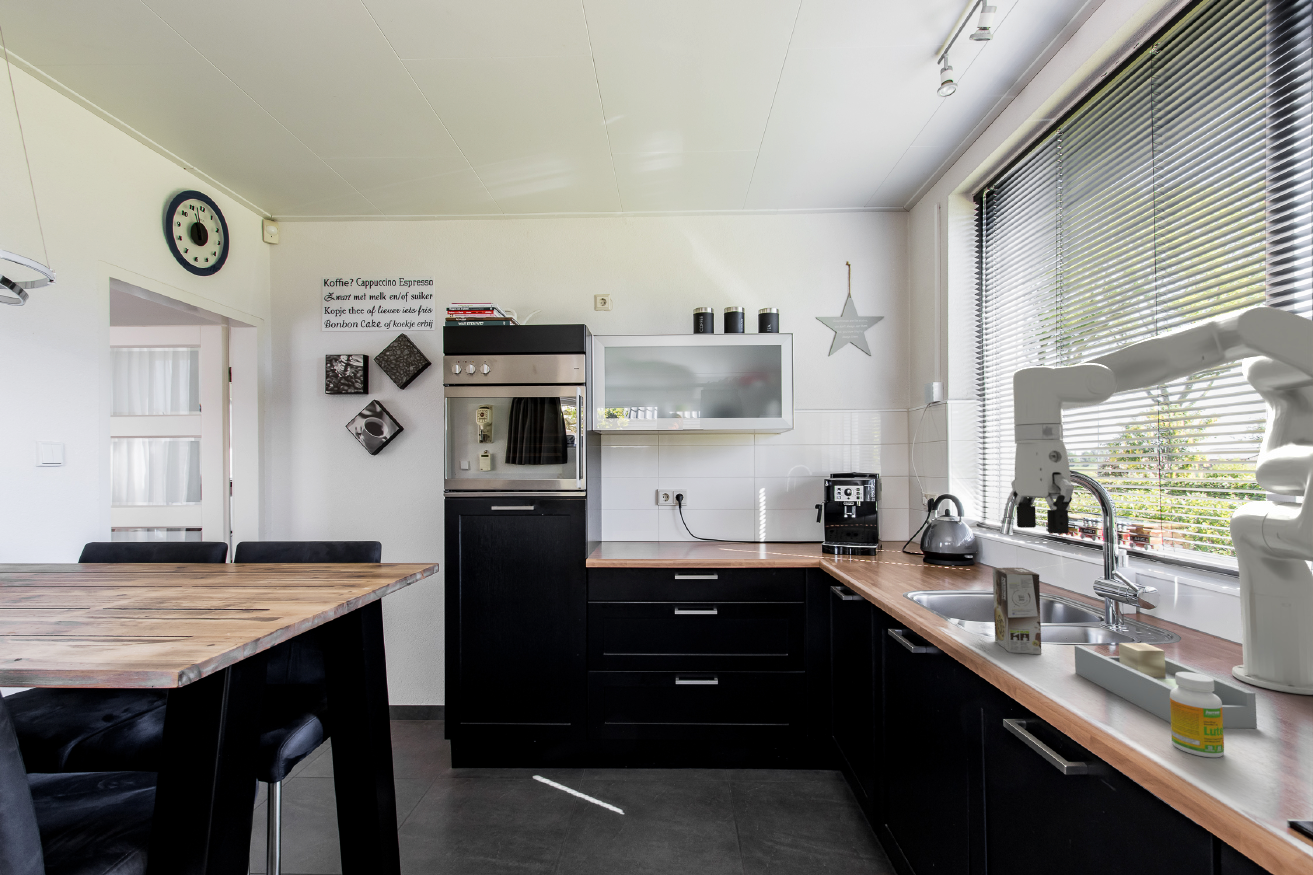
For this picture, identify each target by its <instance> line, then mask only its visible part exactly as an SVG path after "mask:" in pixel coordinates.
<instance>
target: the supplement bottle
mask: <svg viewBox="0 0 1313 875" xmlns="http://www.w3.org/2000/svg"><path fill="white" fill-rule="evenodd" d="M1175 678H1176V679H1175V682H1176V684H1177V685H1178V687H1177V688H1174V689H1172V690H1171V692H1170V710H1171V723H1170V727H1171V728H1170V729H1171V730H1170V731H1171V733H1170V734H1171V743H1172V745H1173V746H1174V747H1176V748H1177V749H1178V750H1180V751H1183V752H1184V753H1187V754H1191V755H1195V756H1199V757H1205V758H1213V759H1214V758H1220V757H1222V756H1224V754H1225V738H1224V728H1223V712H1222V701H1221V699H1220V698H1219V697H1218V696H1217V695H1215V694H1213V693H1212V691H1214V680H1213V679H1212V678H1211V677H1208V676H1206V675H1202V674H1198V673H1192V672H1177V673H1176V674H1175Z"/></svg>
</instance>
